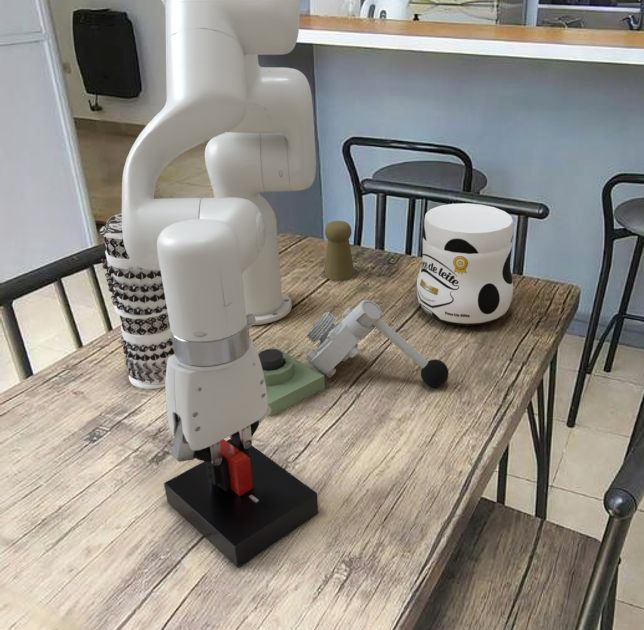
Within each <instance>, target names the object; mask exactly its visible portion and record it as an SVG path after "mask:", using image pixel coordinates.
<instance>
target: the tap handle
mask: <svg viewBox="0 0 644 630" xmlns="http://www.w3.org/2000/svg"><path fill="white" fill-rule="evenodd" d="M220 445H221V452H222V458H223V459H224V460H226V461H227V463H228V469H229V476H230V484H231V487H230V489H232V490H233V491H234V492H235V493H237V494H238V495H239V496H242V495H243V494H245V493H246V492H248V491H250V490H251V489H253V484H252V476H251V467H250V459H249V457H248V456H247V455H246V454H244V453H243V452H241V451H240V450H238V449H237V448H235V447H234V446H233V445H231V444H230V443H229V442H227V440H226V439H223V440H221V441H220Z"/></svg>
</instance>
